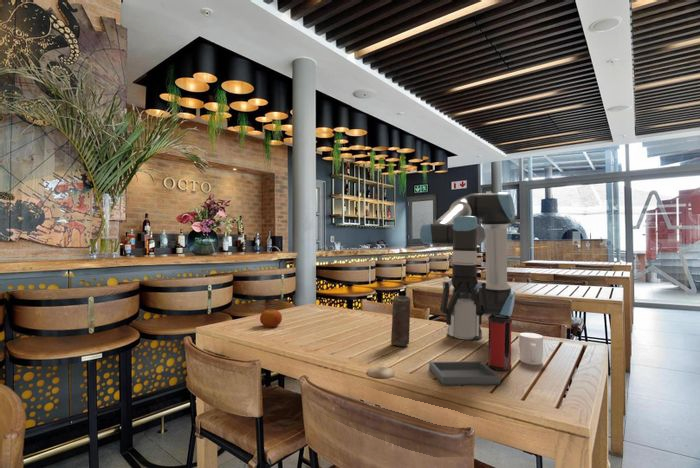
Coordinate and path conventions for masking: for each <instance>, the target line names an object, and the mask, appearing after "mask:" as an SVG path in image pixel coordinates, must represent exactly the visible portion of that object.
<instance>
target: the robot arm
mask: <svg viewBox="0 0 700 468" xmlns="http://www.w3.org/2000/svg"><path fill="white" fill-rule="evenodd" d="M515 212H516V211H515V203H514V200H513V197H512V195H511V193H509V192H507V191H506V192H503V191H502V192H500V191H498V192H497V191H496V192H482V193H479V192H477V193H470V194H467V195H464V196H462V197H459V198H458V199H456V200H455V201H454V202H452V204H450V207H449V209H448V210H447V211H446V212H445V213H443V214H442V215H441V216H440V217H439V218H438V219H437V220H435V222H433V223H424V224H422V225H421V227H420V229H419V236H420V238H419V239H420V241H421V242H422V244H425V245H431V246H433V245H439V246H440V245H444V246H446V245H448V246H449V245H451V246H452V263H453V264H452V267H451V268H452V274H451V275H452V278H451V280H449V281H448V280H447V281H443V282H442V288H443V289H442V296H441V297H442V298H441V303H440V309H439V311H440V312H441V313H443V314H445V324H446V325H447V326H448V327H447V336H449V337H451V338H454V339H458V340H460V339H459V338H456V337H454V315H452V312H453V309H454V307H455V304H456V302H457V300H458V299H470V300H473V301H474V304H475V305H476V336H475V337H473V339H464V340H467V341H468V340H469V341H471V340H472V341H473V340H481V339H482V337H483V330H482V328H481V325H482V316H488V317H489V316H490V315H492V314H502V315H507V316H509V317H510V318H511V316H512V314H513V310H514V305H515V300H516V291H514V290H512V286H511V285H510V284H509V282H508V235H507V234H508V230H507V229H508V227H509V226H510V225H511V223H512V222H511V221H512V220H515ZM478 221H481V225H480V224H478ZM484 242H485V278H486V279H485V282H484V281H478V277H477V275H478V273H477V271H478V268H477V267H478V266H477V265H476V264H477V263H478V246H479V245H481V244H482V243H484ZM451 286H453V287H452V289H451ZM450 289H451V290H452V291H451V298H450V300H449V296H450Z"/></svg>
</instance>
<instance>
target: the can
mask: <svg viewBox="0 0 700 468" xmlns="http://www.w3.org/2000/svg"><path fill="white" fill-rule="evenodd" d="M452 315H454V337H456V338H455V339H458V338H459V339H458V340H465V339H473V337H475V336H476V305H475V304H474V301H473V300H470V299H458V300H457V302H456V304H455V307H454V309H453V312H452ZM454 337H453V338H454Z"/></svg>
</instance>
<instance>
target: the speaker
mask: <svg viewBox="0 0 700 468" xmlns="http://www.w3.org/2000/svg"><path fill="white" fill-rule="evenodd" d="M487 318H488V345H487V346H488V348H487V349H488V351H487V352H488V353H487V363H486V364H487V365H486V366H488V367H489V368H490V369H491V370H493V371H494V370H495V371H498V372H509V371H510V370H512V364H511V363H512V323H513V318H511V316H510V317H509V316H507V315H502V314H492V315H490V316H488V317H487Z"/></svg>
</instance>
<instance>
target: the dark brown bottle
mask: <svg viewBox="0 0 700 468" xmlns="http://www.w3.org/2000/svg"><path fill="white" fill-rule="evenodd" d="M411 301H412V300H411V298H410V296H407V295H397V296H394V297H393V298H392V313H391V314H392V318H391V319H392V320H391V337H390V344H391V345H393V346H396V347H405V346H407V345H409V344H410V326H411V325H410V322H411V320H410V319H411Z"/></svg>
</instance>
